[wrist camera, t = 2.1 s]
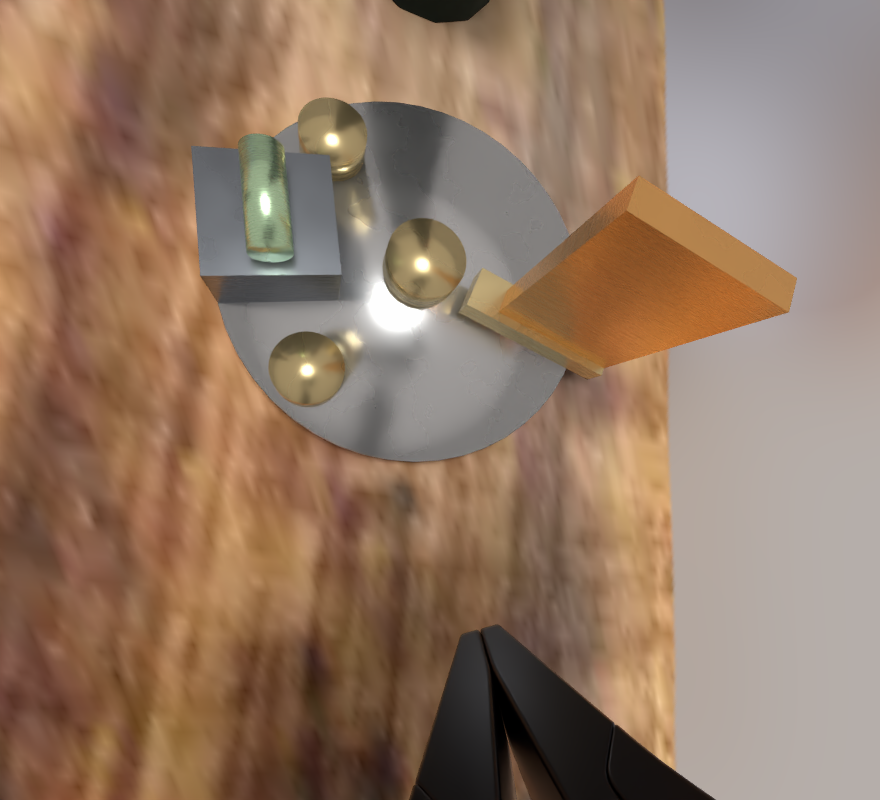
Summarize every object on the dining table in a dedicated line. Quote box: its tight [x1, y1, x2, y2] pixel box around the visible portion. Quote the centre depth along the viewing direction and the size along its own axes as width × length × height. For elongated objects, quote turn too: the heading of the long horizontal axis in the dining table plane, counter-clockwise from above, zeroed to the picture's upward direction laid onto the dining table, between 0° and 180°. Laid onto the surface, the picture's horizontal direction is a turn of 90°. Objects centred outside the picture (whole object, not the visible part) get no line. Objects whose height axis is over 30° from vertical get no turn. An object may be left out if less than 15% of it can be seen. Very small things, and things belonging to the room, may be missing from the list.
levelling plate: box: [191, 98, 569, 462], centre depth 19 cm, size 18×18×6 cm
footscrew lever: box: [382, 176, 797, 379], centre depth 17 cm, size 12×4×10 cm, turn 67°
